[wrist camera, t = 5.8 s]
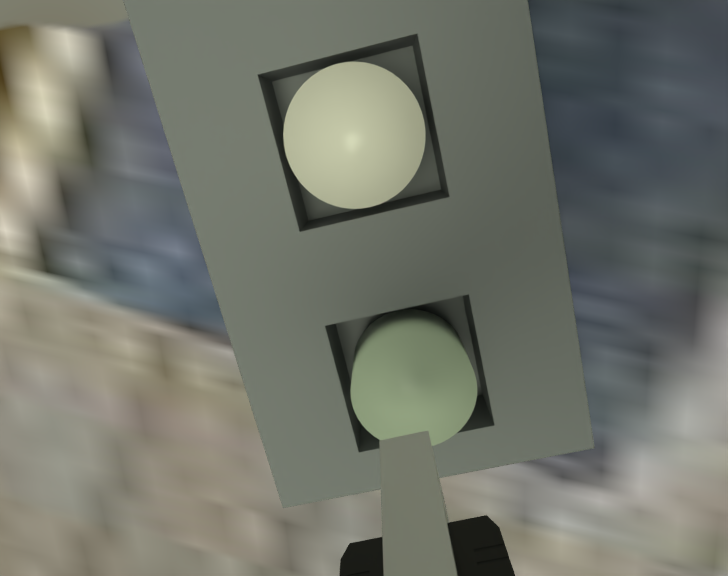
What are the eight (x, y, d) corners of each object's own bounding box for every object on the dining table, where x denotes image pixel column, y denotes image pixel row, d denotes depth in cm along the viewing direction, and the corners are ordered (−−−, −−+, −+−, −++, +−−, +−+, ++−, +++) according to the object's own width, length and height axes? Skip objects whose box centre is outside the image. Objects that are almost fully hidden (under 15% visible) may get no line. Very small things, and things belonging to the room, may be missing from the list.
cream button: (404, 56, 22) (408, 45, 19) (430, 183, 23) (438, 191, 21) (280, 88, 23) (266, 81, 20) (312, 211, 24) (304, 222, 21)
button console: (443, -281, 23) (465, -420, 17) (553, 388, 31) (594, 448, 25) (116, -183, 24) (34, -282, 18) (300, 439, 32) (283, 508, 26)
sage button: (454, 298, 25) (464, 320, 22) (475, 401, 26) (487, 435, 23) (341, 322, 25) (337, 347, 22) (367, 423, 26) (366, 459, 23)
